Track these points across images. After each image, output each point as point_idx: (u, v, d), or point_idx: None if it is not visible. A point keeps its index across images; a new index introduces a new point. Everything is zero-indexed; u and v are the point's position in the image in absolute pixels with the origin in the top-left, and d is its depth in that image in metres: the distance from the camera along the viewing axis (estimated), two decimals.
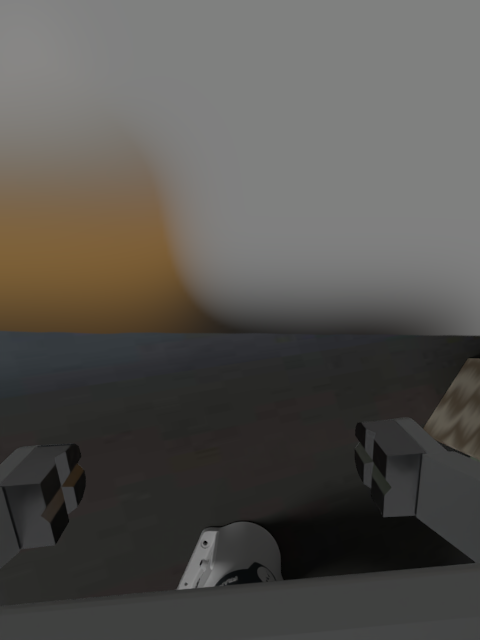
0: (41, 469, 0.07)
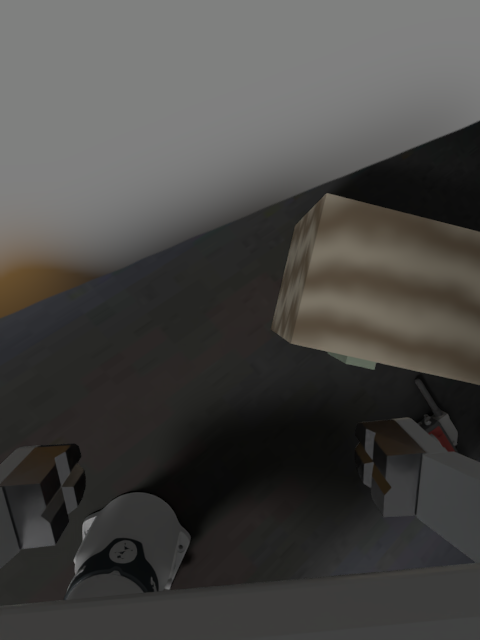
0: (41, 469, 0.07)
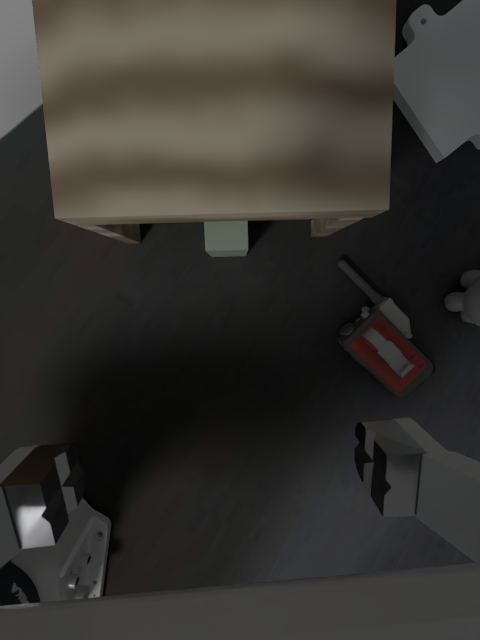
0: (41, 469, 0.07)
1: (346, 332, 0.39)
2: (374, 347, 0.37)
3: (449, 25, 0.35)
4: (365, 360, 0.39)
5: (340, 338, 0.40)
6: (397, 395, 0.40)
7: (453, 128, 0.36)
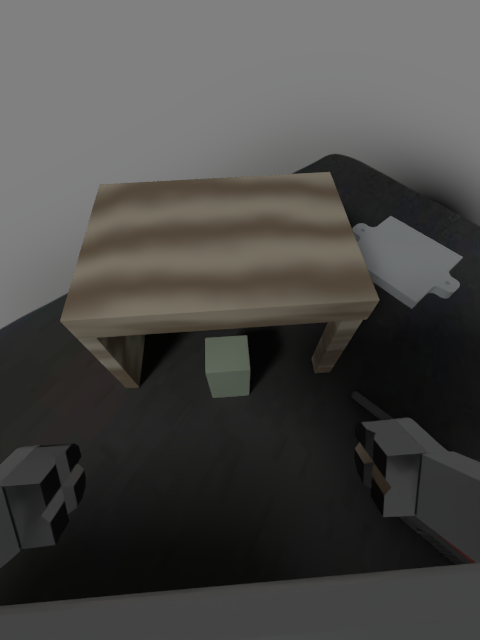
0: (41, 469, 0.07)
1: None
2: None
3: (382, 231, 0.50)
4: None
5: None
6: None
7: (414, 283, 0.44)
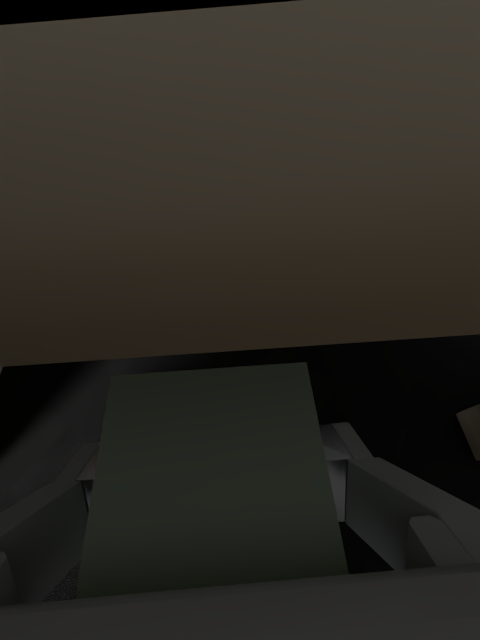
0: None
1: None
2: None
3: None
4: None
5: None
6: None
7: None
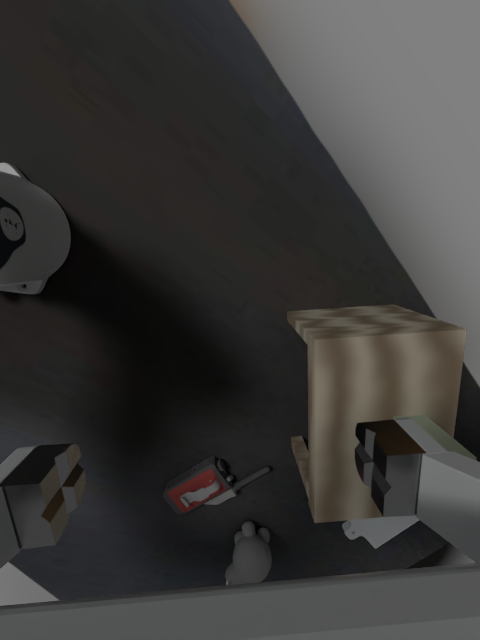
0: (41, 469, 0.07)
1: (219, 466, 0.54)
2: (207, 486, 0.53)
3: None
4: (196, 476, 0.54)
5: (215, 459, 0.55)
6: (165, 491, 0.55)
7: None
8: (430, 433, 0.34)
